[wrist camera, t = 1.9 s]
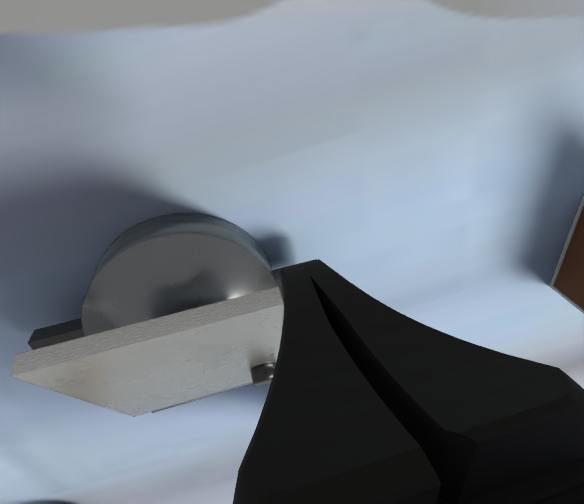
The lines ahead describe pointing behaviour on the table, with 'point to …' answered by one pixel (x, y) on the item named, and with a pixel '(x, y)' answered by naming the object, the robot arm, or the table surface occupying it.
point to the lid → (165, 356)
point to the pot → (167, 274)
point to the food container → (572, 264)
